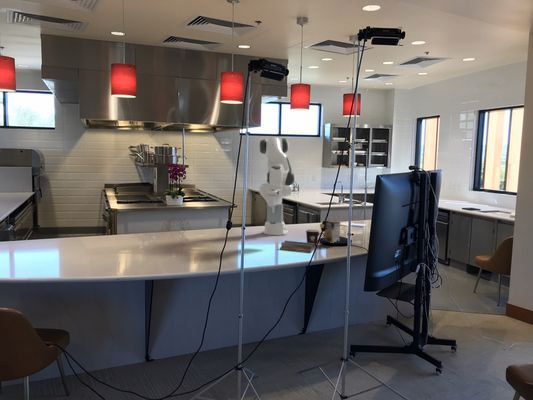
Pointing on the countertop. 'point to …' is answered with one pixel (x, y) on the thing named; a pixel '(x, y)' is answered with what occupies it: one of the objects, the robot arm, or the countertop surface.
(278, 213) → the grey rectangular block
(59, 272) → the countertop surface
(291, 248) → the brown flat box
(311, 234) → the coffee mug
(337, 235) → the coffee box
